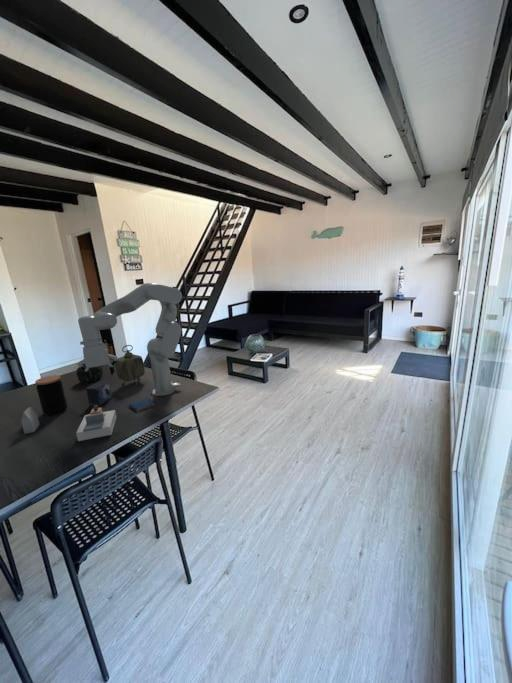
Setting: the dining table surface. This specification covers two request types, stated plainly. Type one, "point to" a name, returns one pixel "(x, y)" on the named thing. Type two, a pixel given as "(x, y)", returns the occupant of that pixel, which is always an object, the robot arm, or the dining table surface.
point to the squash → (95, 373)
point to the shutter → (94, 422)
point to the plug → (96, 410)
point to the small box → (99, 393)
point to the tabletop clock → (129, 367)
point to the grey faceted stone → (30, 420)
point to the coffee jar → (51, 395)
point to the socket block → (104, 431)
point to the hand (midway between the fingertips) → (101, 376)
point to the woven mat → (142, 404)
